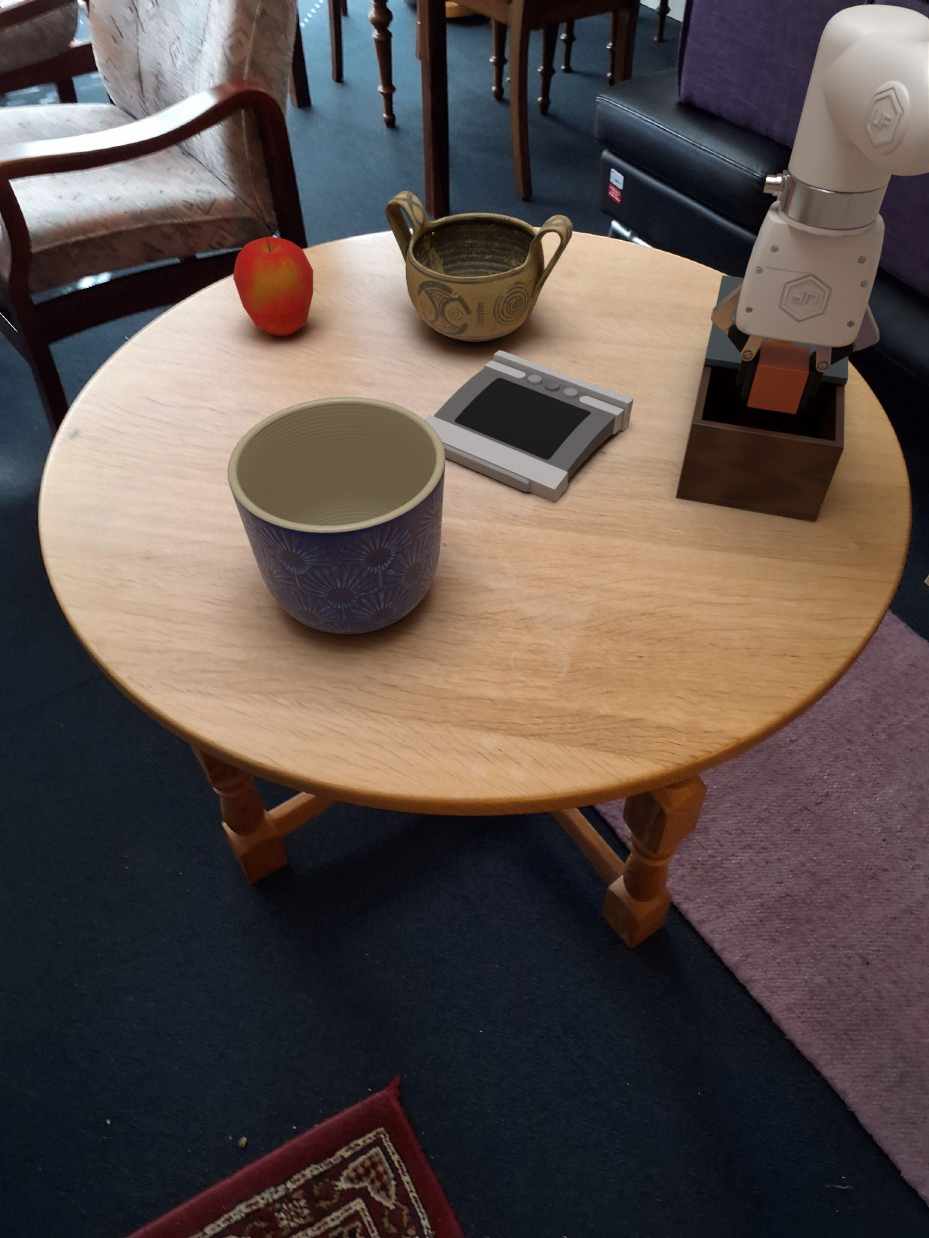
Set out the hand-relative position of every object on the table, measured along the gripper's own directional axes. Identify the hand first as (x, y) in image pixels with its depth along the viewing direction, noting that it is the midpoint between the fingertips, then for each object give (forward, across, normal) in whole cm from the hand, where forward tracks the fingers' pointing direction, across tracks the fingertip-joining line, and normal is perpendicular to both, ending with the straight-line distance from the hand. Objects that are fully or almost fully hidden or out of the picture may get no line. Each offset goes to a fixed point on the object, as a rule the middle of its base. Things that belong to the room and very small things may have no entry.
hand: (773, 394), depth 83 cm
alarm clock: (+11, -24, +1) cm, 26 cm away
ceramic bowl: (+11, -35, +21) cm, 42 cm away
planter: (+11, -33, -26) cm, 43 cm away
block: (0, 0, 0) cm, 0 cm away
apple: (+11, -58, +14) cm, 61 cm away
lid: (+1, 0, +14) cm, 14 cm away
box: (+10, 0, +4) cm, 11 cm away
